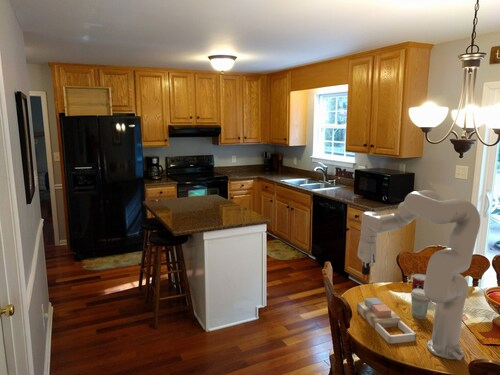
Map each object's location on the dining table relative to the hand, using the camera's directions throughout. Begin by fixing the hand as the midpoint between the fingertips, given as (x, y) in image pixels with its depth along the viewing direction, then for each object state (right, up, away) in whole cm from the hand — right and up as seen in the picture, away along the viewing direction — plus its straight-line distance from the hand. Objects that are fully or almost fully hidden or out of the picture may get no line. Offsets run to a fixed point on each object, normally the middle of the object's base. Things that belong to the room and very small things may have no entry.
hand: (365, 274), depth 182 cm
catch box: (+5, -20, -23) cm, 31 cm away
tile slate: (+2, -13, -7) cm, 15 cm away
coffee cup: (+22, -18, -7) cm, 30 cm away
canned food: (+32, -15, +13) cm, 37 cm away
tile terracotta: (+3, -14, -13) cm, 20 cm away
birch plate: (+2, -18, -10) cm, 20 cm away
